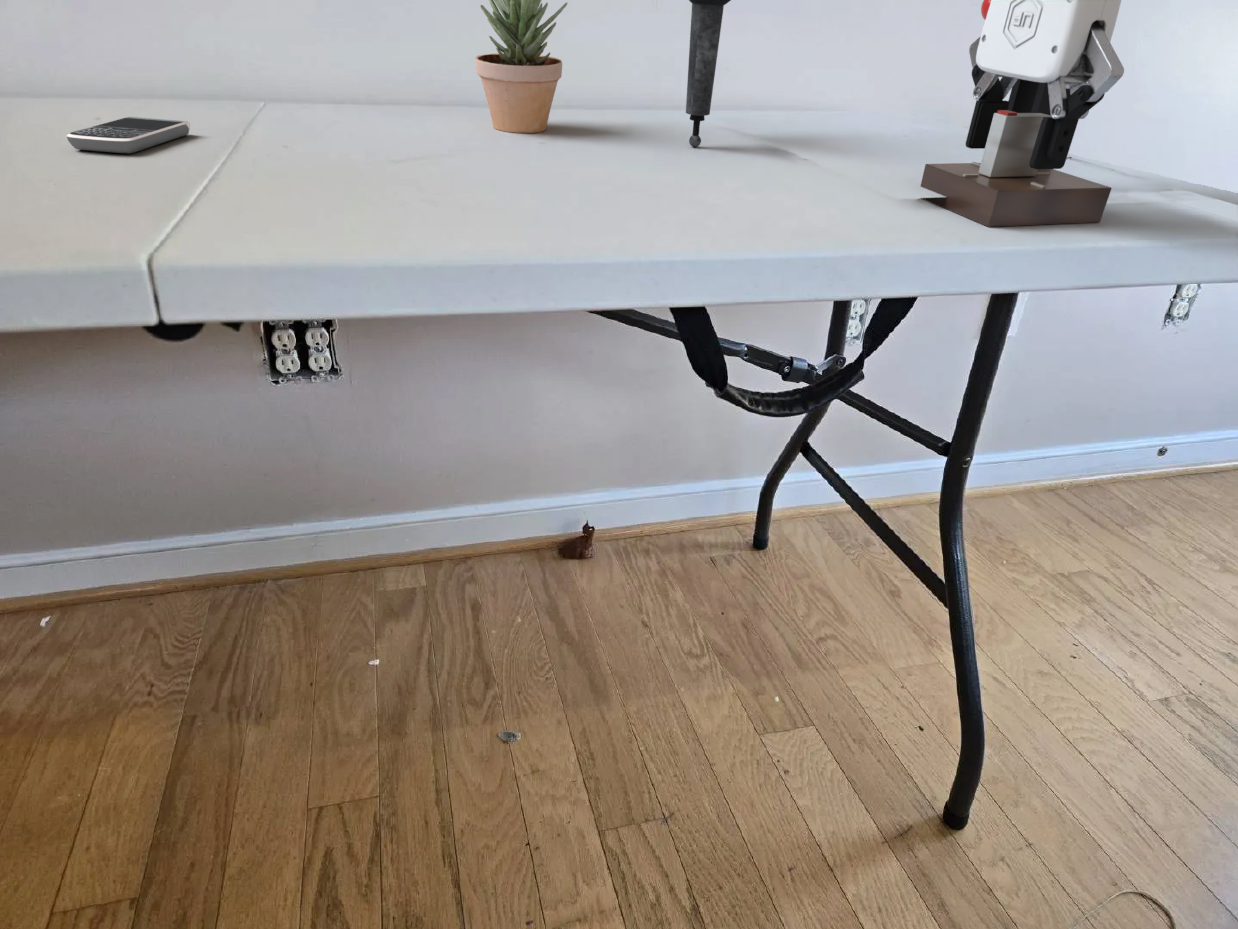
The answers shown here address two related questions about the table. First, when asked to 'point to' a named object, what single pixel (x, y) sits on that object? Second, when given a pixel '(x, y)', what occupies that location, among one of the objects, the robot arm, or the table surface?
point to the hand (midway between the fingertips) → (1012, 156)
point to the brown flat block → (1015, 196)
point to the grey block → (1011, 144)
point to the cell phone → (128, 134)
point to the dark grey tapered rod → (702, 60)
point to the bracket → (1030, 97)
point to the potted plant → (519, 67)
